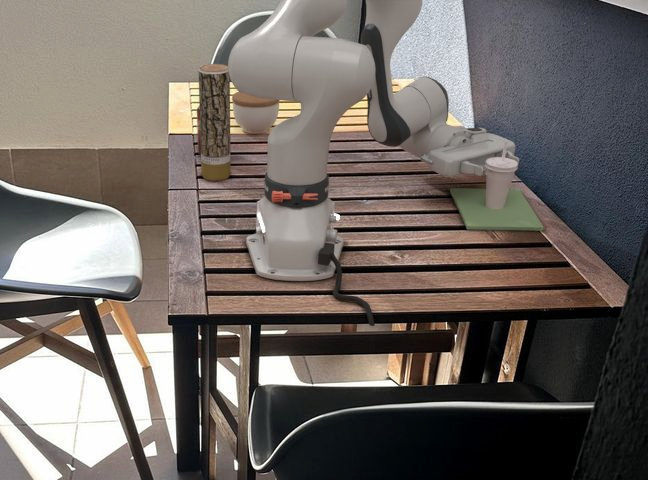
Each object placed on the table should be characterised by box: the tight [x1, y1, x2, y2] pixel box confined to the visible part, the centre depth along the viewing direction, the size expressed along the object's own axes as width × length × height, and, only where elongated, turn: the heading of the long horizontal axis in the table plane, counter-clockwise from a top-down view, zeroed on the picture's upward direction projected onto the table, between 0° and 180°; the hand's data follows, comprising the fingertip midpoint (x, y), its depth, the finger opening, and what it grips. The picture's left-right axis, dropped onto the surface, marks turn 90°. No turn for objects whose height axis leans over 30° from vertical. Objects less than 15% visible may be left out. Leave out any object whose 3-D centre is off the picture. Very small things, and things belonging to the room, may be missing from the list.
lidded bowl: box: [231, 91, 281, 135], centre depth 215 cm, size 13×13×11 cm
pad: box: [449, 187, 545, 232], centre depth 170 cm, size 20×15×1 cm
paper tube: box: [198, 63, 232, 182], centre depth 182 cm, size 7×7×25 cm
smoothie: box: [485, 141, 519, 210], centre depth 166 cm, size 6×6×14 cm
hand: (500, 167), depth 166 cm, fingers open, 8 cm apart
